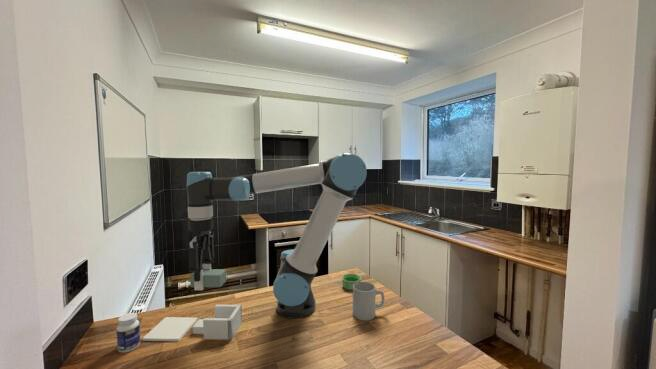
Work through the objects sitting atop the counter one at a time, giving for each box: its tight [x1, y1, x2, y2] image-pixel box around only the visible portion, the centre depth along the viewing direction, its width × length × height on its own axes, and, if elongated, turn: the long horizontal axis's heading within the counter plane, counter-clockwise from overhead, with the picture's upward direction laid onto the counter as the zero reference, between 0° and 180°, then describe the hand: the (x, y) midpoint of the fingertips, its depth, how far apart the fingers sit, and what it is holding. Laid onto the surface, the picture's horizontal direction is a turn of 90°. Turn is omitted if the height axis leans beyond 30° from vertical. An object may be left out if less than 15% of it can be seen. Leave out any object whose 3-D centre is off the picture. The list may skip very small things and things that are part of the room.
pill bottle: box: [116, 312, 141, 354], centre depth 83 cm, size 6×6×10 cm
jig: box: [192, 304, 243, 341], centre depth 92 cm, size 14×10×6 cm
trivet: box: [142, 316, 199, 342], centre depth 92 cm, size 12×12×1 cm
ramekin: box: [341, 273, 362, 291], centre depth 125 cm, size 9×9×4 cm
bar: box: [189, 268, 228, 288], centre depth 91 cm, size 10×5×4 cm, turn 89°
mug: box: [352, 281, 385, 322], centre depth 101 cm, size 12×8×11 cm
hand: (203, 285), depth 91 cm, fingers closed on bar, 5 cm apart
